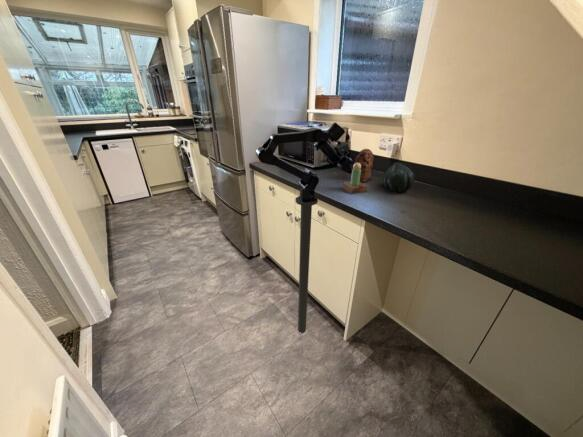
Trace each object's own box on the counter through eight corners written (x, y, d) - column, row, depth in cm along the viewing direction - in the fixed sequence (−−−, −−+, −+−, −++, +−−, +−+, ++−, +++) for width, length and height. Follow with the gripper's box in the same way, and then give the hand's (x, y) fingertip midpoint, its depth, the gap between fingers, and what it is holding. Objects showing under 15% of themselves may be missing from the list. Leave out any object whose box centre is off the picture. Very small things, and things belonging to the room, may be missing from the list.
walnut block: (351, 193, 119) (351, 188, 117) (342, 187, 126) (342, 182, 125) (366, 191, 121) (366, 186, 120) (356, 186, 129) (357, 180, 128)
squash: (424, 182, 119) (410, 156, 120) (407, 189, 111) (393, 161, 113) (401, 192, 131) (389, 169, 133) (385, 199, 124) (372, 174, 125)
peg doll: (356, 186, 120) (359, 164, 114) (348, 184, 123) (351, 162, 117) (360, 184, 122) (363, 162, 117) (353, 182, 125) (356, 161, 120)
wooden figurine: (360, 183, 133) (365, 151, 124) (351, 180, 137) (355, 149, 129) (372, 179, 139) (378, 148, 131) (364, 176, 144) (368, 146, 135)
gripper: (351, 139, 100) (368, 163, 108) (331, 133, 115) (347, 154, 124) (333, 159, 101) (352, 181, 110) (315, 150, 117) (333, 170, 125)
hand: (346, 170), depth 117 cm, fingers open, 9 cm apart
